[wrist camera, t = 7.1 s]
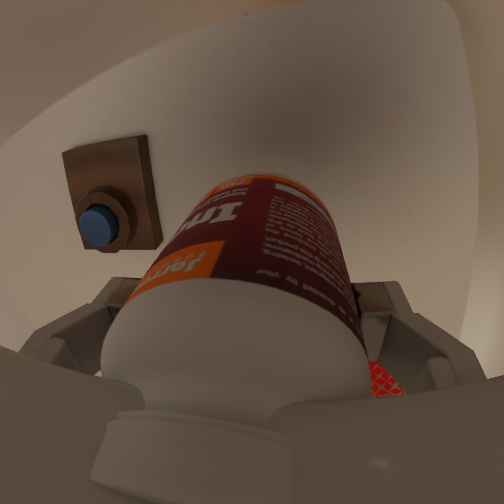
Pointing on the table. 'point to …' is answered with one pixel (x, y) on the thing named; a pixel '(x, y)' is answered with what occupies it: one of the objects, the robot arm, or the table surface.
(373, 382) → the puzzle cube
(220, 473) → the pill bottle
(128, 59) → the table surface
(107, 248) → the brown wooden block
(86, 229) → the cylinder
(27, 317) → the table surface
